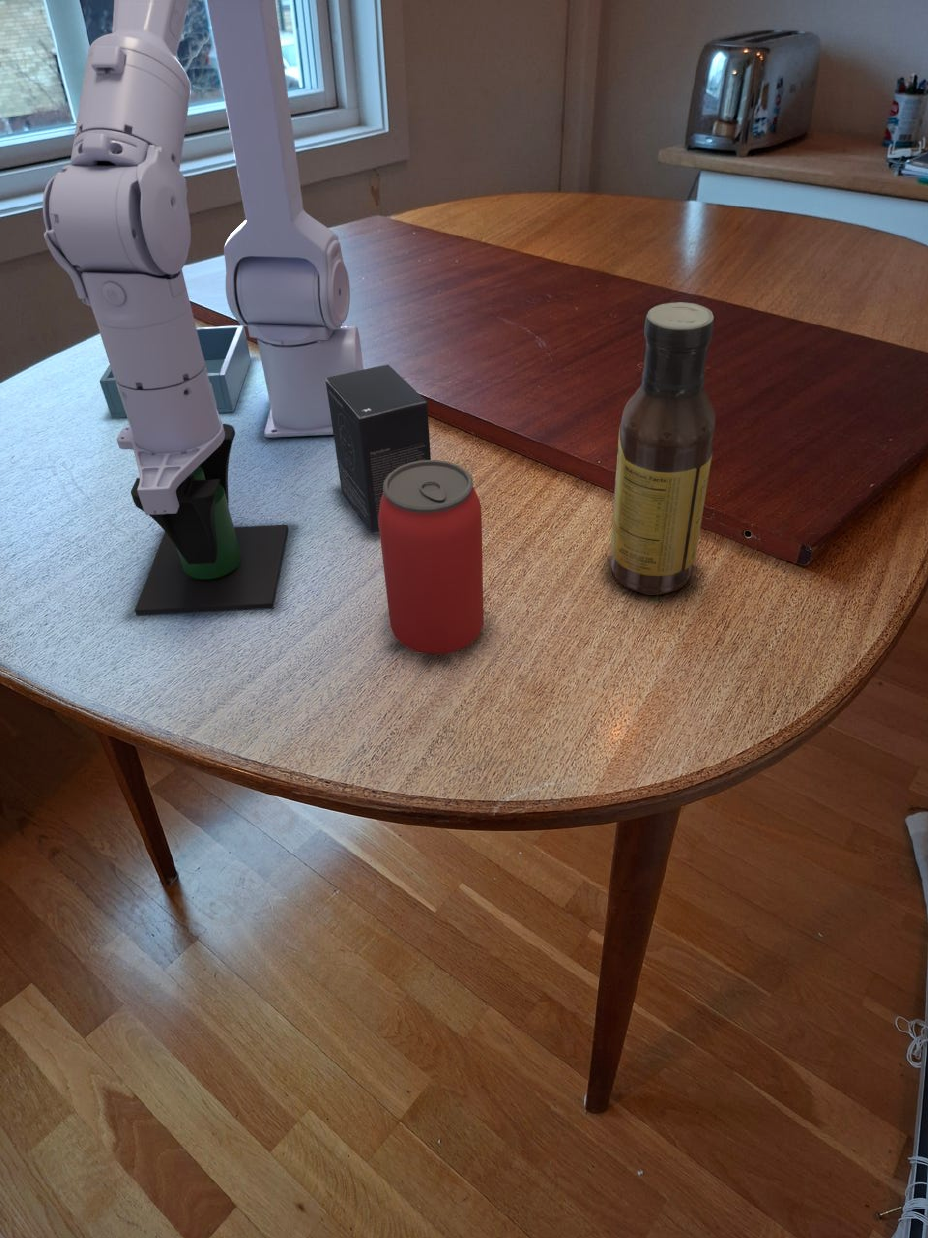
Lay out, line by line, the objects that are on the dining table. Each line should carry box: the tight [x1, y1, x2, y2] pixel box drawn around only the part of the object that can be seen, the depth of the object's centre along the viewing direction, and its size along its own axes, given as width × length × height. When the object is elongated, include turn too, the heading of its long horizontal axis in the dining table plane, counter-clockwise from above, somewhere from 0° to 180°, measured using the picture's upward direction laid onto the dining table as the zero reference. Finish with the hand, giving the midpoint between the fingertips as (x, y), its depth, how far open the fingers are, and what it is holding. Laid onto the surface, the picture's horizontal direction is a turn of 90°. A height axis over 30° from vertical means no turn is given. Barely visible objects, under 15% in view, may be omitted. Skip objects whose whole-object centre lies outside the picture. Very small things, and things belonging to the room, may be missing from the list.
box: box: [325, 363, 432, 535], centre depth 68 cm, size 8×6×11 cm
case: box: [99, 324, 252, 419], centre depth 88 cm, size 12×12×4 cm
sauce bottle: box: [609, 301, 717, 596], centre depth 57 cm, size 6×6×20 cm
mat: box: [134, 524, 289, 616], centre depth 65 cm, size 10×10×1 cm
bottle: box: [177, 466, 241, 579], centre depth 62 cm, size 4×4×8 cm
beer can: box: [378, 459, 485, 656], centre depth 56 cm, size 7×7×12 cm
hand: (208, 540), depth 64 cm, fingers closed on bottle, 4 cm apart
